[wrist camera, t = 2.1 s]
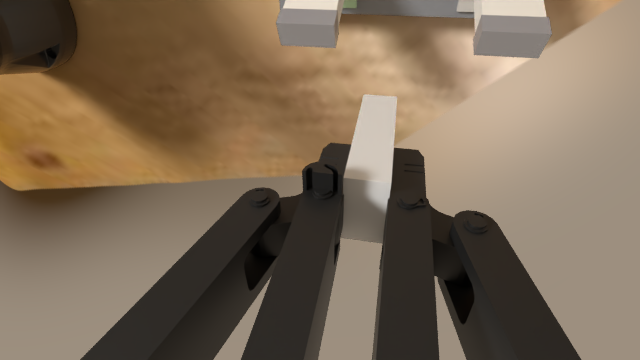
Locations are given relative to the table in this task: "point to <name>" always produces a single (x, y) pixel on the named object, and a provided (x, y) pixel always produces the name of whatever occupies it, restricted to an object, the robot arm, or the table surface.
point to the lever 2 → (510, 28)
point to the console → (409, 7)
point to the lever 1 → (310, 23)
